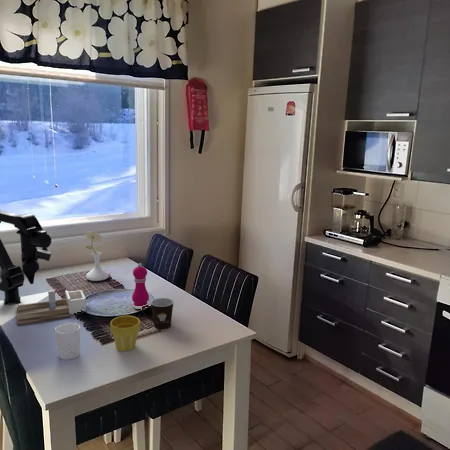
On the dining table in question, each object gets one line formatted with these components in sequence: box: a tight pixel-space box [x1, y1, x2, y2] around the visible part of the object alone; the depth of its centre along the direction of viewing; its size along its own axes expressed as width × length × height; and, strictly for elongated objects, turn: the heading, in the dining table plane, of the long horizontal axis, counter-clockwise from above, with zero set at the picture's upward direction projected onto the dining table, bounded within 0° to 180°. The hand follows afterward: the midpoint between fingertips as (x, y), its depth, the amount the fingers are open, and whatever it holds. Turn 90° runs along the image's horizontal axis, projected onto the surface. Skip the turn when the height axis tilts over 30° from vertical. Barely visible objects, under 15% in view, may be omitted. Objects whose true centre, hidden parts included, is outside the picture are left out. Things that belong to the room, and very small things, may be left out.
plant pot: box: [109, 315, 141, 352], centre depth 157 cm, size 10×10×10 cm
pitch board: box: [16, 298, 71, 327], centre depth 183 cm, size 17×20×3 cm
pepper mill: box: [131, 262, 150, 306], centre depth 190 cm, size 7×7×20 cm
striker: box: [47, 289, 56, 310], centre depth 184 cm, size 7×2×8 cm, turn 26°
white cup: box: [54, 322, 81, 361], centre depth 150 cm, size 8×8×10 cm
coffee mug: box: [141, 297, 174, 331], centre depth 174 cm, size 12×9×10 cm
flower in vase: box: [85, 230, 110, 282], centre depth 223 cm, size 13×11×25 cm
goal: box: [64, 289, 87, 315], centre depth 188 cm, size 11×7×7 cm, turn 26°
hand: (31, 280), depth 187 cm, fingers open, 9 cm apart
